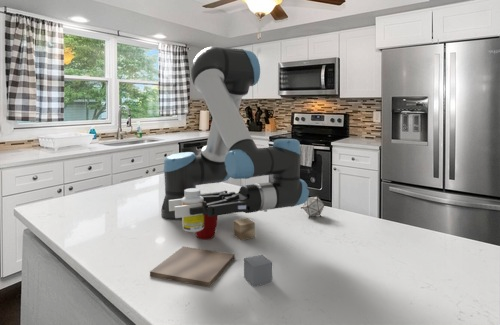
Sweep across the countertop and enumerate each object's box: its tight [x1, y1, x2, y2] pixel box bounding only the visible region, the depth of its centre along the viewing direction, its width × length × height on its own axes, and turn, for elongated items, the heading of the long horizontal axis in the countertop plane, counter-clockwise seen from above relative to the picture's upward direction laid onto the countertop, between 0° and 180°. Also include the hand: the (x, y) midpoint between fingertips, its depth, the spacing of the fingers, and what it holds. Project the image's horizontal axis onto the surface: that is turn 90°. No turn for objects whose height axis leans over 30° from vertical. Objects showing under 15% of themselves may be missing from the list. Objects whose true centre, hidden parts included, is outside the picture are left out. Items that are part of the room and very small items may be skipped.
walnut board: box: [149, 246, 236, 288], centre depth 88 cm, size 16×16×1 cm
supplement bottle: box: [181, 187, 204, 233], centre depth 85 cm, size 6×6×10 cm
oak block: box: [233, 218, 256, 241], centre depth 108 cm, size 5×5×5 cm
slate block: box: [243, 254, 273, 288], centre depth 81 cm, size 5×5×5 cm
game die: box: [300, 194, 327, 219], centre depth 128 cm, size 9×8×10 cm
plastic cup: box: [195, 215, 219, 240], centre depth 108 cm, size 11×11×12 cm
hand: (172, 208), depth 83 cm, fingers closed on supplement bottle, 6 cm apart
